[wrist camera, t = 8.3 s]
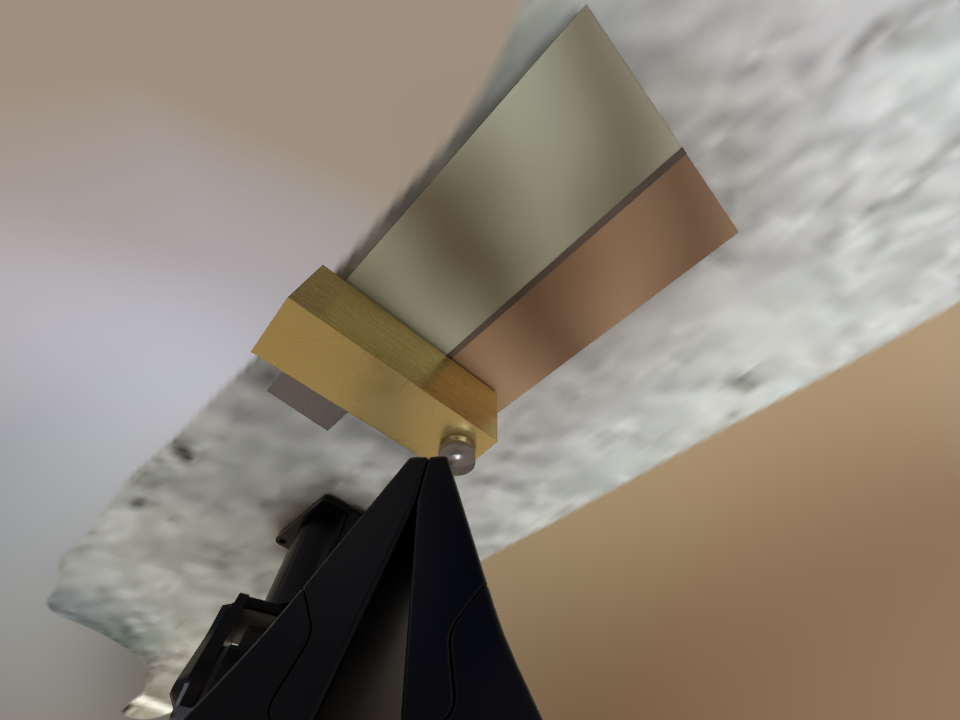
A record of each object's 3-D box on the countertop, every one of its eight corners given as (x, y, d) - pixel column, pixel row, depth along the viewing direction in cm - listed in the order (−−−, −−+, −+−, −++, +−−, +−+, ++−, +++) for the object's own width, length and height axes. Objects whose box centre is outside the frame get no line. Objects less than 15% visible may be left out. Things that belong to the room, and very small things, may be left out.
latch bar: (496, 393, 21) (497, 454, 17) (458, 427, 22) (451, 491, 18) (322, 264, 17) (277, 306, 14) (289, 312, 19) (239, 362, 15)
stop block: (351, 384, 21) (327, 430, 18) (300, 348, 20) (266, 390, 17) (369, 366, 20) (348, 410, 17) (318, 327, 19) (287, 368, 16)
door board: (441, 441, 25) (439, 456, 23) (297, 335, 21) (286, 347, 20) (724, 225, 18) (739, 232, 17) (579, 11, 14) (586, 3, 13)
